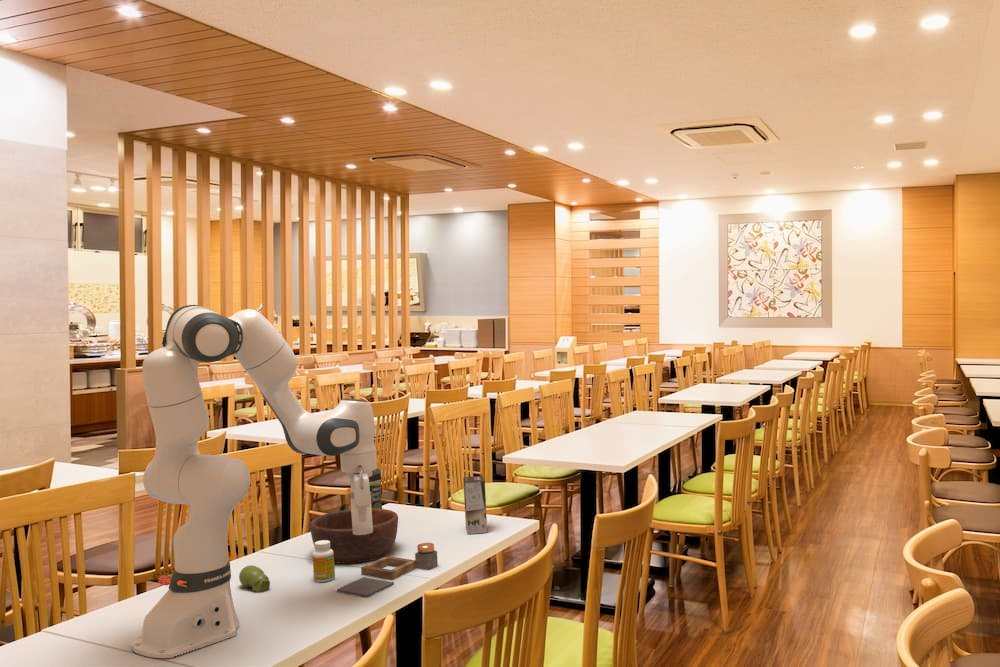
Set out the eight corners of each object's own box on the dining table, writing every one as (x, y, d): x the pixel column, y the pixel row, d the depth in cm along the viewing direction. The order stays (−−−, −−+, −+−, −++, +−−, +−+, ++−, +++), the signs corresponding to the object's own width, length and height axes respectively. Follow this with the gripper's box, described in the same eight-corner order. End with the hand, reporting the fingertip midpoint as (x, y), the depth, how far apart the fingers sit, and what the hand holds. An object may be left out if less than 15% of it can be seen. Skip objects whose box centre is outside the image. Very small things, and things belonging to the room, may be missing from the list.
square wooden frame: (404, 581, 206) (403, 566, 206) (361, 574, 213) (360, 559, 213) (437, 565, 218) (436, 550, 218) (396, 559, 225) (395, 544, 225)
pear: (254, 560, 212) (276, 573, 205) (253, 579, 213) (275, 593, 206) (235, 565, 208) (256, 579, 201) (234, 585, 208) (255, 599, 202)
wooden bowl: (297, 567, 223) (295, 530, 223) (331, 541, 248) (329, 507, 247) (383, 567, 219) (381, 530, 218) (410, 541, 243) (408, 507, 243)
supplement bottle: (329, 582, 208) (327, 545, 208) (310, 582, 209) (308, 545, 209) (338, 575, 213) (336, 539, 213) (319, 575, 214) (317, 539, 214)
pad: (367, 597, 195) (367, 595, 195) (336, 591, 201) (336, 589, 201) (393, 584, 204) (393, 582, 204) (363, 579, 209) (363, 577, 209)
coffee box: (488, 533, 248) (485, 481, 247) (467, 534, 247) (464, 482, 247) (485, 525, 257) (482, 475, 256) (465, 527, 256) (462, 476, 256)
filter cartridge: (364, 535, 199) (361, 495, 198) (348, 534, 201) (346, 494, 201) (377, 530, 203) (374, 490, 203) (361, 528, 205) (359, 489, 205)
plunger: (428, 566, 214) (427, 548, 214) (415, 564, 216) (414, 546, 216) (438, 562, 218) (437, 543, 218) (425, 560, 220) (424, 542, 220)
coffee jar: (365, 531, 257) (362, 473, 257) (349, 527, 262) (346, 470, 262) (388, 524, 265) (385, 467, 264) (372, 521, 270) (369, 465, 269)
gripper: (374, 469, 192) (377, 527, 192) (368, 455, 212) (371, 507, 212) (347, 471, 191) (350, 529, 191) (344, 457, 211) (347, 510, 211)
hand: (361, 518), depth 202 cm, fingers closed on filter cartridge, 5 cm apart
